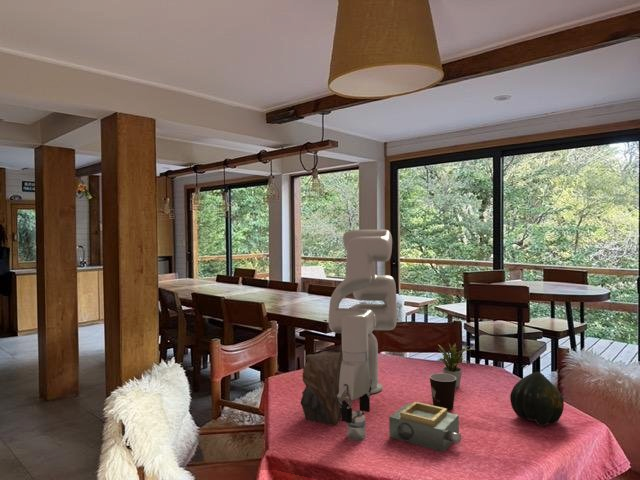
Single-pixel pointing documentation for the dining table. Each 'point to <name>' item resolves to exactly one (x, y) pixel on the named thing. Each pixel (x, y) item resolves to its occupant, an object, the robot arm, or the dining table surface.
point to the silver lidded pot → (356, 427)
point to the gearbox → (425, 426)
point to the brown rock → (322, 387)
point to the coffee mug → (443, 390)
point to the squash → (537, 399)
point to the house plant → (453, 362)
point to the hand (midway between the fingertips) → (355, 416)
